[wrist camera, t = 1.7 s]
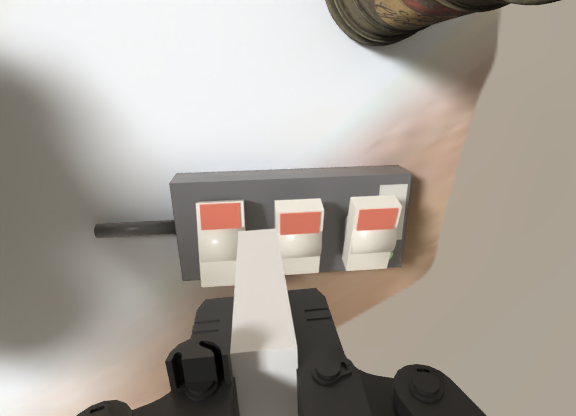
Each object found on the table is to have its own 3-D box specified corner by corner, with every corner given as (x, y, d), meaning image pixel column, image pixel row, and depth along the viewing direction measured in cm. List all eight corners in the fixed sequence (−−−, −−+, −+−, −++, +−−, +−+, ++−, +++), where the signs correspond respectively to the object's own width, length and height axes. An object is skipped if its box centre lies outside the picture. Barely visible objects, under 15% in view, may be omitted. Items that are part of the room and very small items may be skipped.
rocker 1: (205, 278, 30) (199, 290, 27) (200, 200, 30) (194, 204, 26) (248, 275, 31) (247, 287, 27) (244, 198, 30) (243, 201, 27)
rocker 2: (274, 255, 32) (277, 281, 30) (273, 194, 28) (276, 218, 26) (313, 252, 32) (319, 278, 30) (318, 192, 29) (325, 216, 26)
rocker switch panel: (112, 268, 34) (99, 287, 31) (92, 176, 30) (75, 187, 27) (389, 251, 36) (401, 267, 33) (398, 165, 33) (412, 174, 30)
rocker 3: (339, 251, 33) (347, 277, 30) (347, 190, 29) (358, 214, 26) (377, 248, 33) (389, 274, 30) (391, 188, 29) (405, 212, 27)
